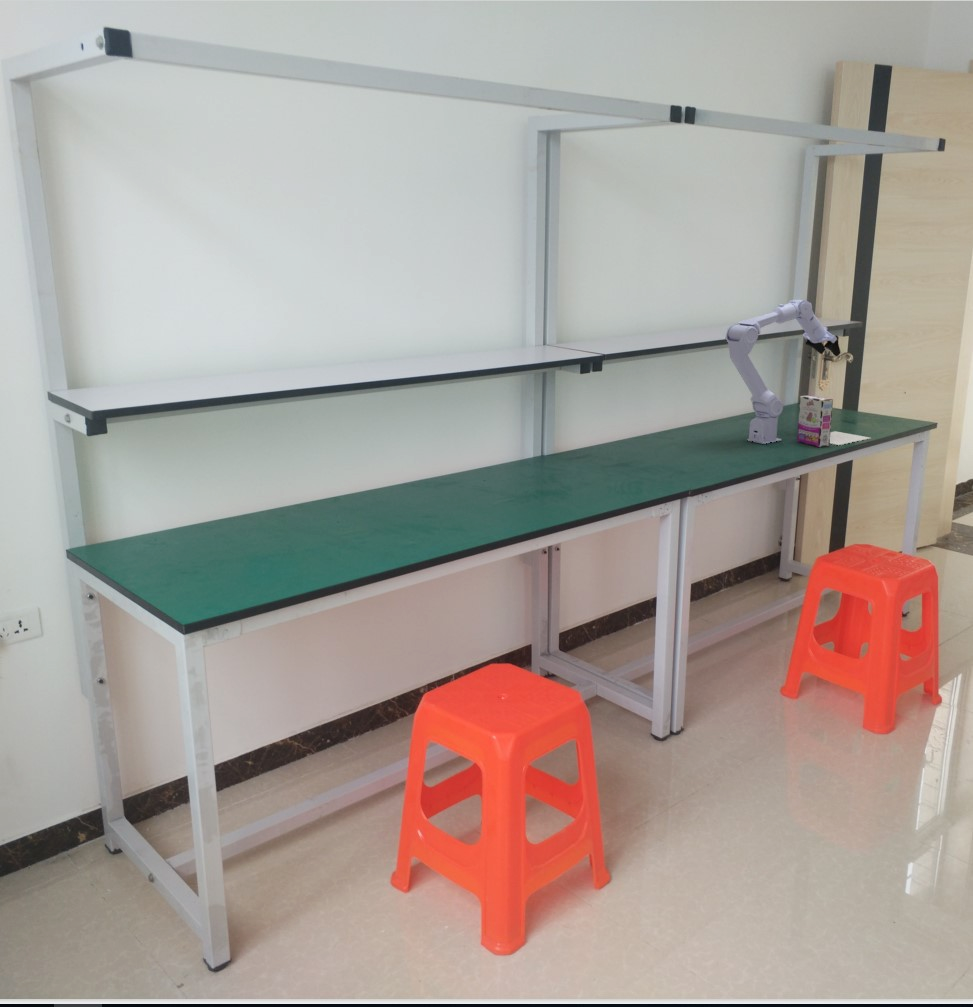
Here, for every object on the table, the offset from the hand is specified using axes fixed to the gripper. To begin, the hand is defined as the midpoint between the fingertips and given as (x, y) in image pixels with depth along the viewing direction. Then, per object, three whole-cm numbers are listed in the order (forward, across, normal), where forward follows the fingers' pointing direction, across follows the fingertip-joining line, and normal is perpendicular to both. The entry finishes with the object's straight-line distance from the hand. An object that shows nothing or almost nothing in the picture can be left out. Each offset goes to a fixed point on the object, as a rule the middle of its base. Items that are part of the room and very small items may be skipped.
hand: (830, 353), depth 346 cm
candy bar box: (+10, -13, +32) cm, 36 cm away
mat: (+18, -10, +23) cm, 31 cm away
